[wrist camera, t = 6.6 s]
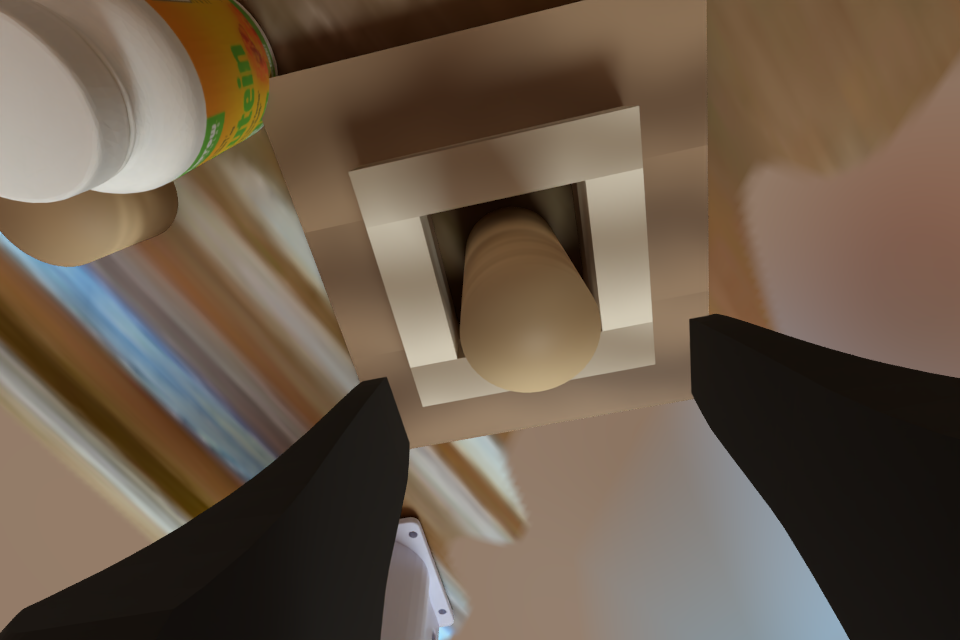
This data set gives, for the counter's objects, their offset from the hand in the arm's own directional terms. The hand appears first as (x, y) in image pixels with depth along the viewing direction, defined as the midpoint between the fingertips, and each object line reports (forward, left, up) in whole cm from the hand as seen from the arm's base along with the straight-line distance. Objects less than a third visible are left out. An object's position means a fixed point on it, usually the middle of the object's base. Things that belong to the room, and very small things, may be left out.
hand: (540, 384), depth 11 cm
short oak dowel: (+6, +15, -10) cm, 19 cm away
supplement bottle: (+10, +10, -11) cm, 17 cm away
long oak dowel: (0, 0, -10) cm, 10 cm away
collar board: (0, 0, -10) cm, 10 cm away
